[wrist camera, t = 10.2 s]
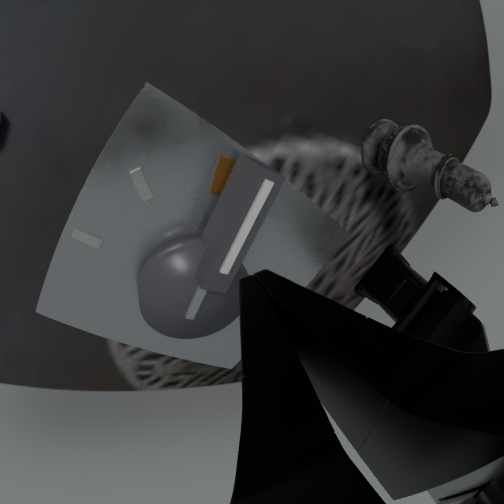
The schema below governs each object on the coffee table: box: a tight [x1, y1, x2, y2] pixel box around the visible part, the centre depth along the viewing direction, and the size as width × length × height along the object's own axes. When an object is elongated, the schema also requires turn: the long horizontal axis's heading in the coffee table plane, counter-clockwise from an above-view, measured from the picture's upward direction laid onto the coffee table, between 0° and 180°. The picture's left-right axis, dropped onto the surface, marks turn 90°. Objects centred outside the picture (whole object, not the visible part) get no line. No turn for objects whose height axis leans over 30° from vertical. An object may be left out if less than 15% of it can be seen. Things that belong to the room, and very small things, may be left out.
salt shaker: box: [361, 119, 498, 212], centre depth 18 cm, size 6×6×12 cm
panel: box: [36, 83, 350, 369], centre depth 22 cm, size 20×18×1 cm
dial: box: [137, 153, 286, 339], centre depth 19 cm, size 14×8×4 cm, turn 152°
